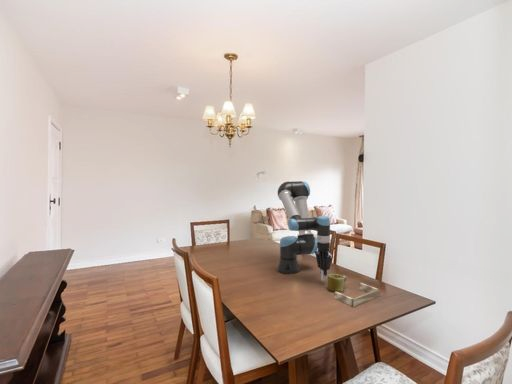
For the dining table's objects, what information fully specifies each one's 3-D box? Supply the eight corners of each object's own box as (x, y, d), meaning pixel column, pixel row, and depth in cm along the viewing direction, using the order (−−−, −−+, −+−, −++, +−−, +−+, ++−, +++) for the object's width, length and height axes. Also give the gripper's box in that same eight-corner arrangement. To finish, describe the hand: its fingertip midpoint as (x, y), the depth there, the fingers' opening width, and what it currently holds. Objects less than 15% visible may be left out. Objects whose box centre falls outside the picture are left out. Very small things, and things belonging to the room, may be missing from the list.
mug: (332, 291, 153) (332, 273, 156) (323, 290, 162) (324, 273, 165) (352, 293, 155) (352, 275, 158) (342, 292, 165) (342, 275, 168)
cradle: (334, 298, 149) (334, 291, 149) (360, 288, 161) (360, 282, 161) (353, 306, 139) (353, 300, 139) (380, 295, 151) (380, 289, 151)
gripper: (311, 240, 172) (311, 278, 173) (327, 244, 161) (327, 284, 162) (320, 239, 176) (320, 275, 177) (336, 243, 165) (336, 282, 166)
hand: (323, 280), depth 170 cm, fingers closed
